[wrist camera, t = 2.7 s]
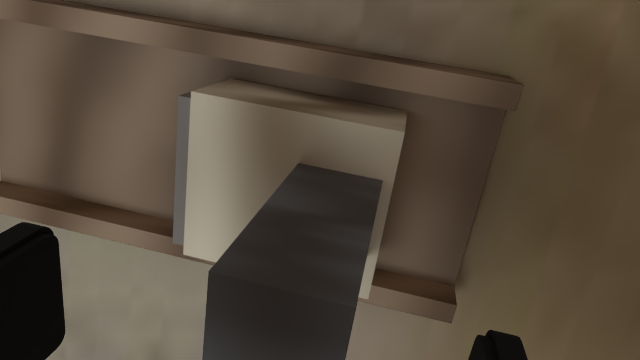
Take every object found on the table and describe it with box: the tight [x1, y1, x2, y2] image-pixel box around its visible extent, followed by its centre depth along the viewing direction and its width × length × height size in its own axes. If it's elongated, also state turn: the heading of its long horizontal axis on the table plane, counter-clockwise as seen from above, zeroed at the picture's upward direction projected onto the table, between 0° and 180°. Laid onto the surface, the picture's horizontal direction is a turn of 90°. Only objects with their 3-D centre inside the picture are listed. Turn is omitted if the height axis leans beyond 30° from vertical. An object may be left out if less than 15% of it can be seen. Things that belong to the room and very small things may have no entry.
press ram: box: [173, 79, 407, 360], centre depth 16 cm, size 9×7×12 cm
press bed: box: [0, 0, 524, 323], centre depth 22 cm, size 25×11×3 cm, turn 82°
